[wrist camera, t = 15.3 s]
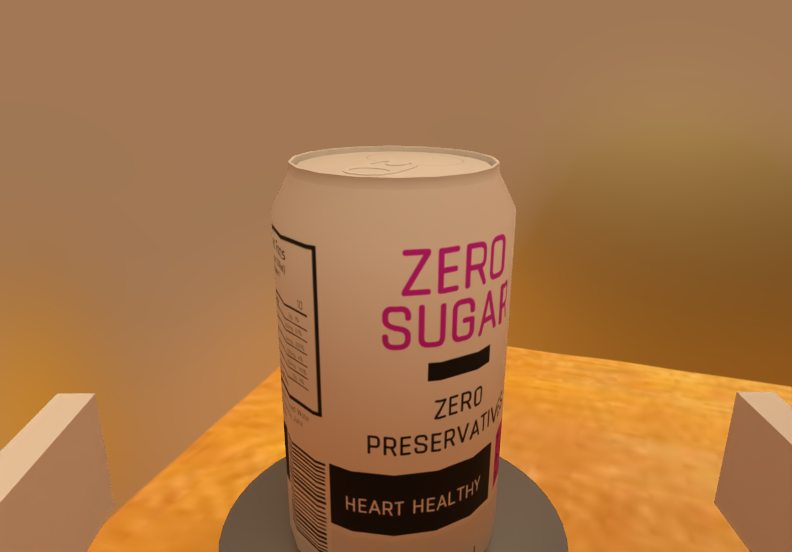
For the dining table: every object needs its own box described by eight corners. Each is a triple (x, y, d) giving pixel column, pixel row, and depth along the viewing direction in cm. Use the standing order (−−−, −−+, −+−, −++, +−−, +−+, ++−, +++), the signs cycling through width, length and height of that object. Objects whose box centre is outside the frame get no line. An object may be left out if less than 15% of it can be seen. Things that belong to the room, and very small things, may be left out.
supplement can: (360, 447, 31) (355, 139, 26) (520, 501, 27) (549, 153, 22) (248, 553, 24) (214, 165, 20) (441, 644, 21) (458, 192, 16)
